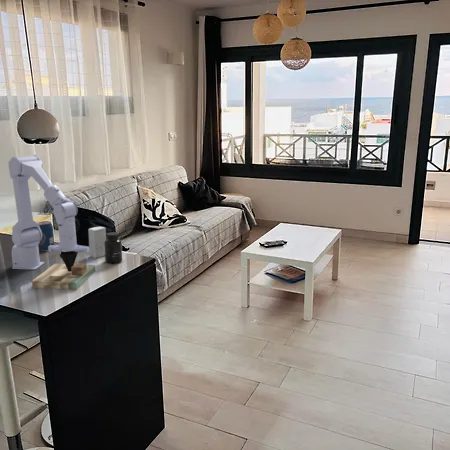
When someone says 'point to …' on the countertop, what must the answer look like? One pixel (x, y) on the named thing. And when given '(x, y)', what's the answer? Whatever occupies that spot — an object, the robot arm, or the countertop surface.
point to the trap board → (61, 278)
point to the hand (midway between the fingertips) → (70, 270)
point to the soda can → (46, 235)
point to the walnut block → (78, 269)
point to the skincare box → (97, 241)
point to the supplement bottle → (113, 248)
